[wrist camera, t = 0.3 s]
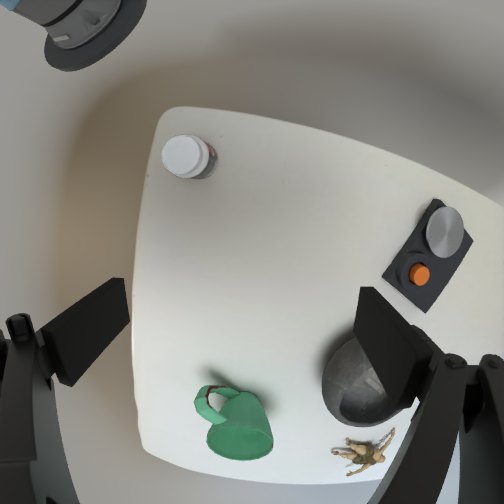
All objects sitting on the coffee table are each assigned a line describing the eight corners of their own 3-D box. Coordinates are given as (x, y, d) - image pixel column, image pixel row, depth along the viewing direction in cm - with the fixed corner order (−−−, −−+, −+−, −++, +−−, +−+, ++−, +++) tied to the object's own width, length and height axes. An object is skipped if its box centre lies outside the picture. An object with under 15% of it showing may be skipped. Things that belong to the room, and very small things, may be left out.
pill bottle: (225, 153, 33) (213, 144, 25) (205, 185, 34) (188, 186, 26) (194, 136, 32) (174, 123, 24) (175, 167, 33) (150, 163, 25)
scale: (419, 308, 37) (430, 318, 33) (380, 275, 36) (390, 283, 32) (466, 238, 34) (479, 243, 30) (432, 197, 33) (445, 199, 29)
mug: (283, 405, 42) (286, 449, 32) (238, 424, 44) (234, 465, 34) (231, 351, 39) (223, 396, 30) (185, 376, 41) (168, 418, 31)
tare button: (416, 285, 33) (421, 289, 31) (405, 275, 32) (410, 279, 31) (427, 270, 32) (432, 273, 30) (416, 259, 32) (422, 263, 30)
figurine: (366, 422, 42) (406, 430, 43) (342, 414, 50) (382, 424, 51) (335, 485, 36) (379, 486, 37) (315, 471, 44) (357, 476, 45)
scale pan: (428, 204, 29) (430, 204, 29) (463, 208, 29) (466, 209, 29) (422, 256, 31) (424, 257, 31) (458, 257, 31) (460, 258, 30)
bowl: (297, 378, 40) (304, 422, 31) (350, 303, 37) (375, 339, 27) (365, 399, 41) (380, 438, 32) (416, 335, 38) (444, 369, 28)
